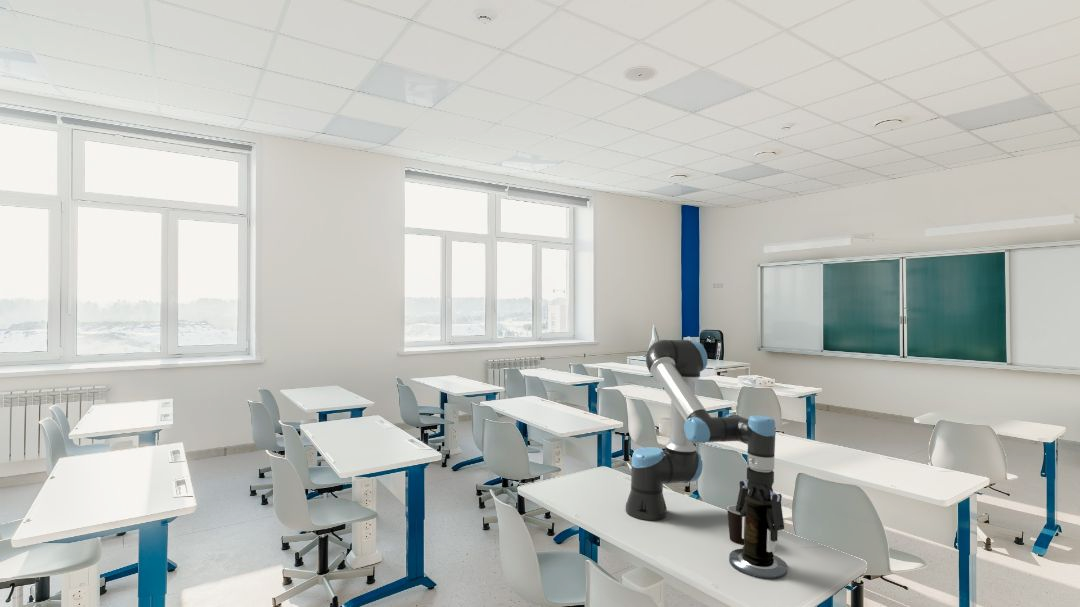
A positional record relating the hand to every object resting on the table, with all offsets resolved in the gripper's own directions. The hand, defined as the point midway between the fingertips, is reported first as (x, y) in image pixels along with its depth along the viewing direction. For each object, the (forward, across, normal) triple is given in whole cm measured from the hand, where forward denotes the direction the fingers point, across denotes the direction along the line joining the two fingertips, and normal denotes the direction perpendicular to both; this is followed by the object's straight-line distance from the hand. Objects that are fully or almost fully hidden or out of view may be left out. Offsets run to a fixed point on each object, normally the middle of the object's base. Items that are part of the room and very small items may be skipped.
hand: (758, 544), depth 156 cm
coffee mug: (+7, -15, +10) cm, 19 cm away
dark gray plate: (+6, 0, 0) cm, 6 cm away
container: (+5, 0, 0) cm, 5 cm away
